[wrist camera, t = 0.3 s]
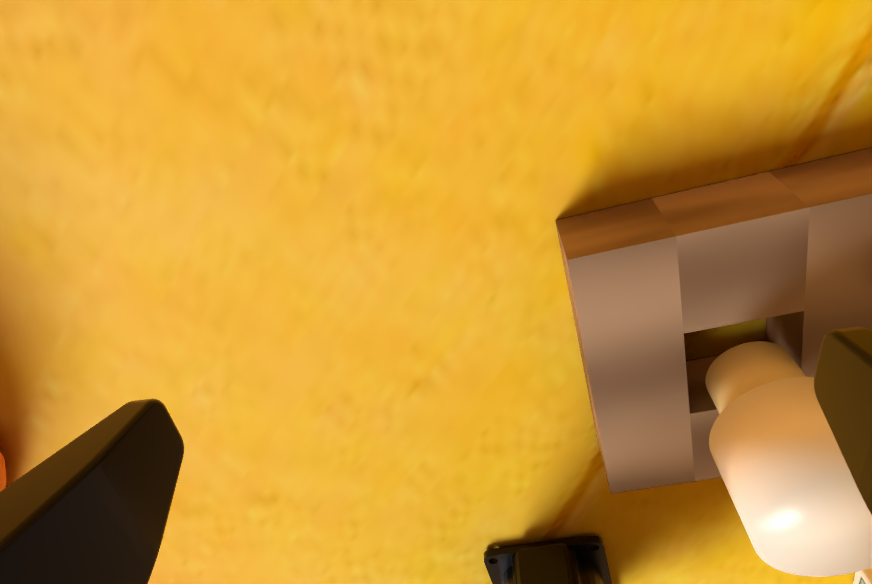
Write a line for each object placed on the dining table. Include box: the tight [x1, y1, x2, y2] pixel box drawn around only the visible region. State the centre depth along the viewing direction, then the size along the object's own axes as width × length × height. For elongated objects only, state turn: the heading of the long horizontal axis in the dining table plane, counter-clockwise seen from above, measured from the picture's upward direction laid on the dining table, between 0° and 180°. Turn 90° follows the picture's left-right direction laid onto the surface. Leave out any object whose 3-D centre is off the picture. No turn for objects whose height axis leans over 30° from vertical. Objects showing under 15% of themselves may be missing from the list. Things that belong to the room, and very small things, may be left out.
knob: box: [705, 341, 872, 577], centre depth 19 cm, size 5×5×6 cm
